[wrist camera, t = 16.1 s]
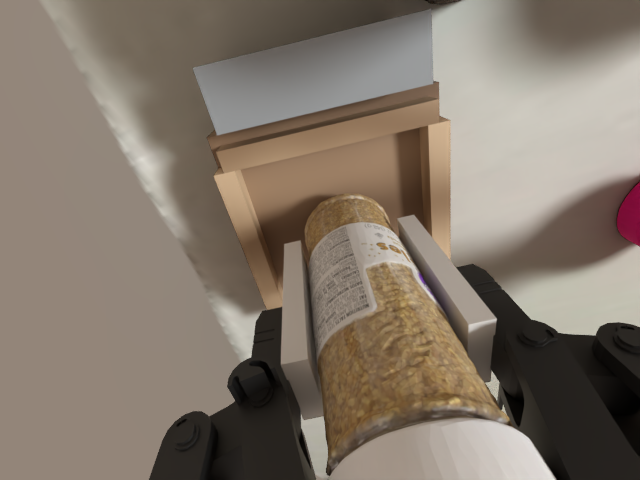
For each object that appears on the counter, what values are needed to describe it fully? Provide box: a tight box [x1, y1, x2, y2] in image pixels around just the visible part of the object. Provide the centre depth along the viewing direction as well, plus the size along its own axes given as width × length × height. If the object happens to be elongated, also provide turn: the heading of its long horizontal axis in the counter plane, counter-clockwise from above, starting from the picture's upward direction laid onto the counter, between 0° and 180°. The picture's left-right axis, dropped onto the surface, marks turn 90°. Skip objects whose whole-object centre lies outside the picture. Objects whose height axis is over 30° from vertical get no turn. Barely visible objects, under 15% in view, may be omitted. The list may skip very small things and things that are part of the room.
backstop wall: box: [193, 9, 433, 135], centre depth 14 cm, size 2×9×5 cm, turn 102°
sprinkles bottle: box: [305, 193, 557, 480], centre depth 11 cm, size 5×5×14 cm
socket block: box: [207, 81, 450, 310], centre depth 19 cm, size 13×11×4 cm
